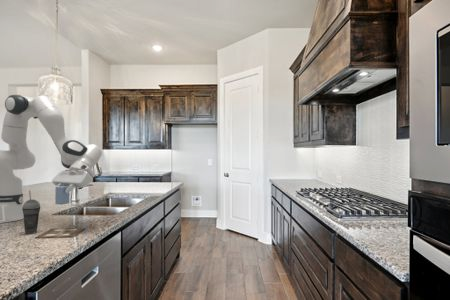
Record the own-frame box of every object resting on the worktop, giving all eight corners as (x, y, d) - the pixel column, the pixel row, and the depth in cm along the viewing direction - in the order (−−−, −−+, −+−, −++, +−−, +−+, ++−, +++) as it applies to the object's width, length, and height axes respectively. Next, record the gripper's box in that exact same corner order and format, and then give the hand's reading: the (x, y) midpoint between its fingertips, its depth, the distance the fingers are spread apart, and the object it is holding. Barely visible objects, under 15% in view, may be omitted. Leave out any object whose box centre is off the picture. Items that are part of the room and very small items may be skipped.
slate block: (61, 204, 127) (61, 187, 127) (55, 204, 129) (55, 186, 129) (69, 203, 131) (69, 186, 131) (63, 202, 133) (63, 186, 133)
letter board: (35, 238, 122) (35, 237, 122) (50, 229, 136) (50, 228, 136) (73, 237, 124) (73, 236, 124) (85, 228, 138) (85, 227, 138)
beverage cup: (30, 235, 126) (31, 191, 127) (17, 234, 128) (18, 191, 128) (43, 230, 134) (44, 189, 134) (31, 229, 135) (32, 189, 135)
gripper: (60, 165, 140) (41, 187, 131) (90, 166, 133) (73, 189, 124) (67, 173, 144) (50, 195, 135) (97, 175, 137) (81, 197, 128)
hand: (61, 192), depth 129 cm, fingers closed on slate block, 4 cm apart
